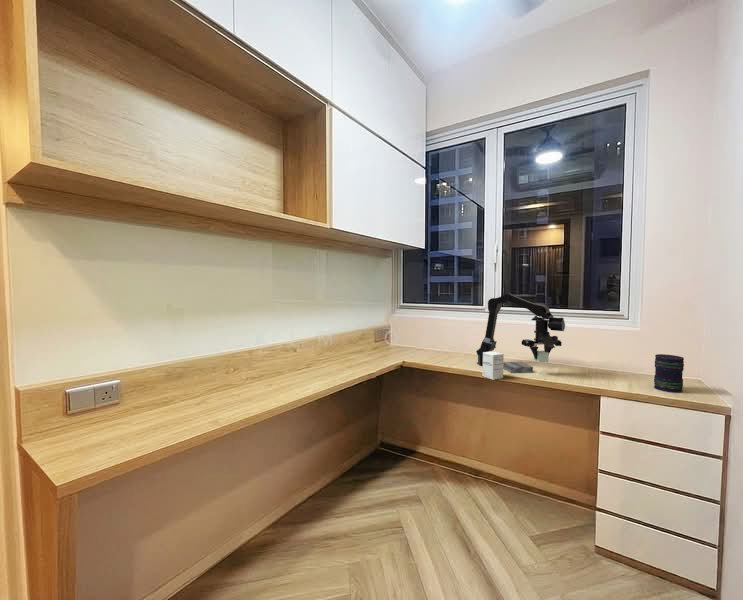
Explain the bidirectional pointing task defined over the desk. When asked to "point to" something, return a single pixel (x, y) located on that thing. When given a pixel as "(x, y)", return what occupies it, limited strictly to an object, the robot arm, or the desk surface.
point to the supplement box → (493, 365)
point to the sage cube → (542, 356)
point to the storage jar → (668, 373)
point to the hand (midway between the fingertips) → (541, 359)
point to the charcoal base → (517, 367)
